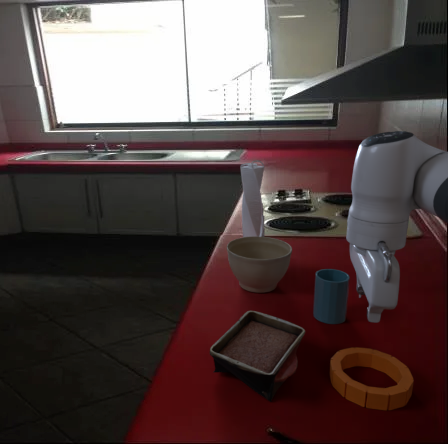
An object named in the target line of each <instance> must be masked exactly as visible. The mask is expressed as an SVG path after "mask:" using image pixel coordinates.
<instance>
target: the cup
mask: <svg viewBox="0 0 448 444" xmlns="http://www.w3.org/2000/svg"><path fill="white" fill-rule="evenodd" d="M350 280H351V277H350V275H349V274H348V273H347V272H345V271H342V270H340V269H335V268H324V269H319V270H316V272H315V275H314V289H313V291H314V292H313V304H312V305H313V306H312V315H313V318H314V319H315V320H317V321H318V322H321V323H323V324H328V325H338V324H339V325H340V324H343V323H344V322H345V321H346V320H347V313H348V303H349V302H348V301H349V290H350Z"/></svg>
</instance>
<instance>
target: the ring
mask: <svg viewBox="0 0 448 444" xmlns="http://www.w3.org/2000/svg"><path fill="white" fill-rule="evenodd" d="M354 367H361V368H371V369H374V370H376V371H378V372H381V373H384V374H385V375H387V376H388V377H389V378H390V379H392V380H393V381H394V382H395V383H396V385H393V386H389V387H386V388H385V387H376V386H368V385H366V384H363V383H361V382H358V381H356V380H354V379H353V378H352V377H350V376H349V375H348V374H347V373H345V372H344V370H346V369H350V368H354ZM328 374H329V378H330V384H331V386H332V387H333V388H334V390H335V391H337V393H339V395H340V396H341V397H342V398H345V400H347V401H349V402H352V403H353V404H355V405H358V406H360V407H362V408H366V409H370V410H371V409H372V410H379V411H386V412H387V411H393V410H397V409H399V408H403V407H405V406H407V405H408V402H409V401H410V399H411V397H412V394H413V388H414V381H415V380H414V377H413V375H412V373H411V370H410V369H409V367H408V366H407V365H406V364H405V363H403V362H401V361H400V360H399V359H398V358H396V356H392V355H391V354H388V353H386V352H383V351H381V350H380V351H379V350H377V349H373V348H367V347H358V346H355V347H347V348H343V349H340V350H338V351H336V353H334V355H333V356H332V357H331V358H330V363H329V373H328Z"/></svg>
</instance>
